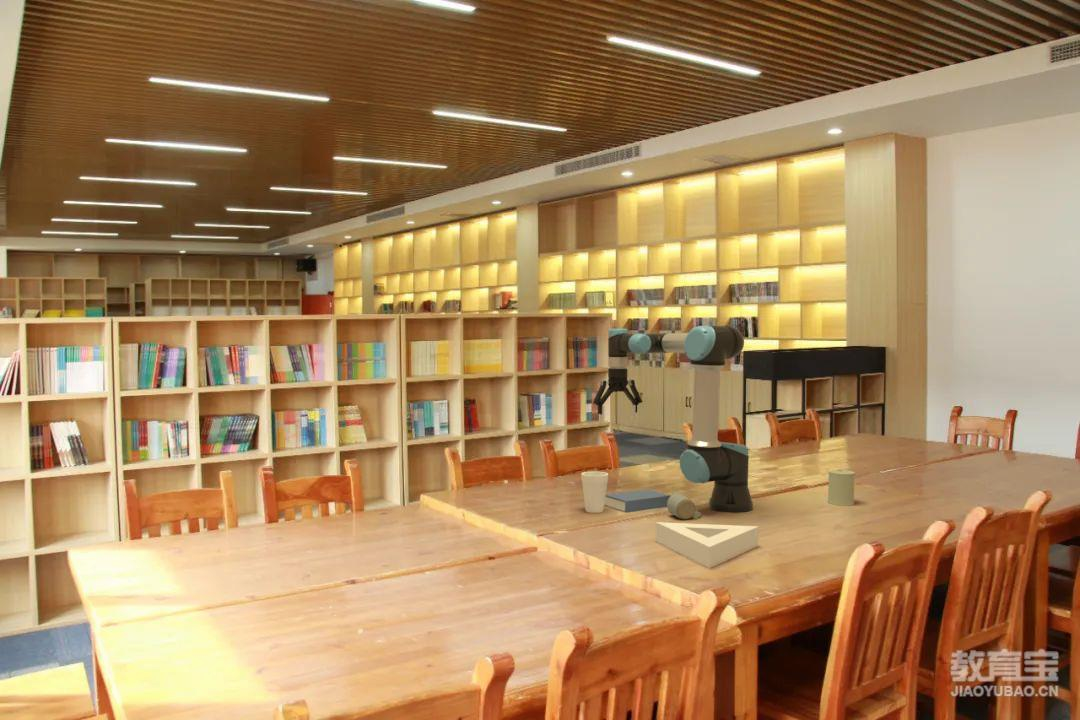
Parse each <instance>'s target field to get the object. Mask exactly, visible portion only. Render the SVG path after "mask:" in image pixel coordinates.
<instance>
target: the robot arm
mask: <svg viewBox="0 0 1080 720" xmlns="http://www.w3.org/2000/svg"><path fill="white" fill-rule="evenodd" d="M607 345H608V346H607V348H608V349H607V350H608V351H607V353H608V354H607V355H608V356H607V357H608V359H607V361H608V363H607V367H609V368H608V370H607V373H608V374H607V378H608V379H607V381H606V380H604V379H603V380H600V385H599V389H598V391H597V393H596V395H595V396H594V399H593V401H592V404H593V405H595V406H597V414H598V415H599V423H602V424H605V409H606V408H605V405H604V404H605V403H606V401H607V400H608V399H609V397H610V396H611V395H612V394H613V393H614V392H615V393H616V392H617V393H618V392H620V393H621V392H623V393H624V395H625V396H626V397H627V398H628V400H629V401H630V403H632V404H630V409H629V410H630V412H629V413H630V416H629V417H630V418H629V419H630V420H629V421H630V422H636V414H637V412H638V406H639V404H641V403H642V402H643V401H642V398H641V396H640V394H639V391H638V389H637V387H636V383H635V380H634V379H629V380H628V365H629V364H628V363H629V362H628V354H635V355H641V354H671V353H672V354H686V358H689V360H690V366H692V368H693V369H694V380H693V381H694V383H693V387H694V388H693V403H692V404H693V406H692V407H693V409H692V429H691V430H692V433H691V434H692V435H691V438H690V439H689V440H688V441H687V446H686V447H687V448H686V450H684V451H683V452H682V454H680V456H679V457H680V458H679V468H680V471H681V473H682V474H683V476H684V477H685V478H686V480H687V481H689V482H690V483H693V484H706V483H710V482H711V483H712V482H714V486H713V489H712V493H711V496H710V498H709V500H708V503H709V504H708V505H709V508H710V509H712V510H715V511H720V512H729V513H739V512H740V513H743V512H744V513H745V512H749V511H751V510H753V506H754V505H753V504H754V502H753V500H752V497H751V493H750V492H751V491H750V489H749V458H750V455H749V449H748V446H747V445H744V444H742V443H741V444H740V443H732V442H727V441H726V442H725V441H723V442H722V441H720V440H718V435H719V434H718V432H719V431H718V430H719V427H718V426H719V407H720V385H721V370H722V369H723V368H724V367H725V366H726V360H731V359H733V358H734V359H735V357H737V356H739V355H740V354H741V353H742V351H743V349H744V347H745V346H744V345H745V339H744V336H743V334H742V332H741V331H740V330H739V329H738V328H736V327H735V326H730V325H708V324H707V325H699V326H695V327H693V328H691V330H690V331H689V332H674V333H664V332H661V333H629V332H628V329H627V328H610V329H609V330H608V338H607ZM607 386H608V388H607ZM627 386H629V388H630V390H629V389H628V387H627ZM606 388H607V389H606ZM605 390H606V391H605Z"/></svg>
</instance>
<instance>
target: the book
mask: <svg viewBox="0 0 1080 720" xmlns="http://www.w3.org/2000/svg"><path fill="white" fill-rule="evenodd" d="M671 495H672V494H667V493H663V492H660V491H657V490H654V489H649V488H645V489H639V490H631V491H623V492H622V491H621V492H616V493H606V497H605V504H604V507H608V508H610V509H611V508H612V509H613V510H616V511H621V512H624V513H633V512H639V511H640V512H641V511H647V510H655V509H659V508H660V509H663V508H667V501H668V499H669V497H670V496H671Z"/></svg>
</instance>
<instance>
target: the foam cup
mask: <svg viewBox="0 0 1080 720" xmlns="http://www.w3.org/2000/svg"><path fill="white" fill-rule="evenodd" d="M580 477H581V478H580V479H581V483H582V484H581V485H582V490H583V491H582V492H583V493H582V494H583V498H584V499H583V500H584V502H583V503H584V507H585V509H584V510H585V512H587V513H591V514H592V513H593V514H596V513H597V514H599V513H603V512H604V511H605V506H604V505H605V497H606V494H607V489H608V487H607V486H608V482H609V473H608V472H605V471H584V472H581V475H580Z"/></svg>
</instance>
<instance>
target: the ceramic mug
mask: <svg viewBox="0 0 1080 720" xmlns="http://www.w3.org/2000/svg"><path fill="white" fill-rule="evenodd" d="M670 495H671V496H670V497H669V499H668V501H667V507H666V508H667V511H668V513H670V514H671V515H673V516H675V517H676V518H679V519H681V520H689V519H691V518H693V516H695V517H697V518H700V517H701V516H702V512H700V511H699V510H696V505H695V503H694V501H692V500H691V498H689V497H687V496H686V495H685V494H683V493H679V492H675V493H673V494H670Z"/></svg>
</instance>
